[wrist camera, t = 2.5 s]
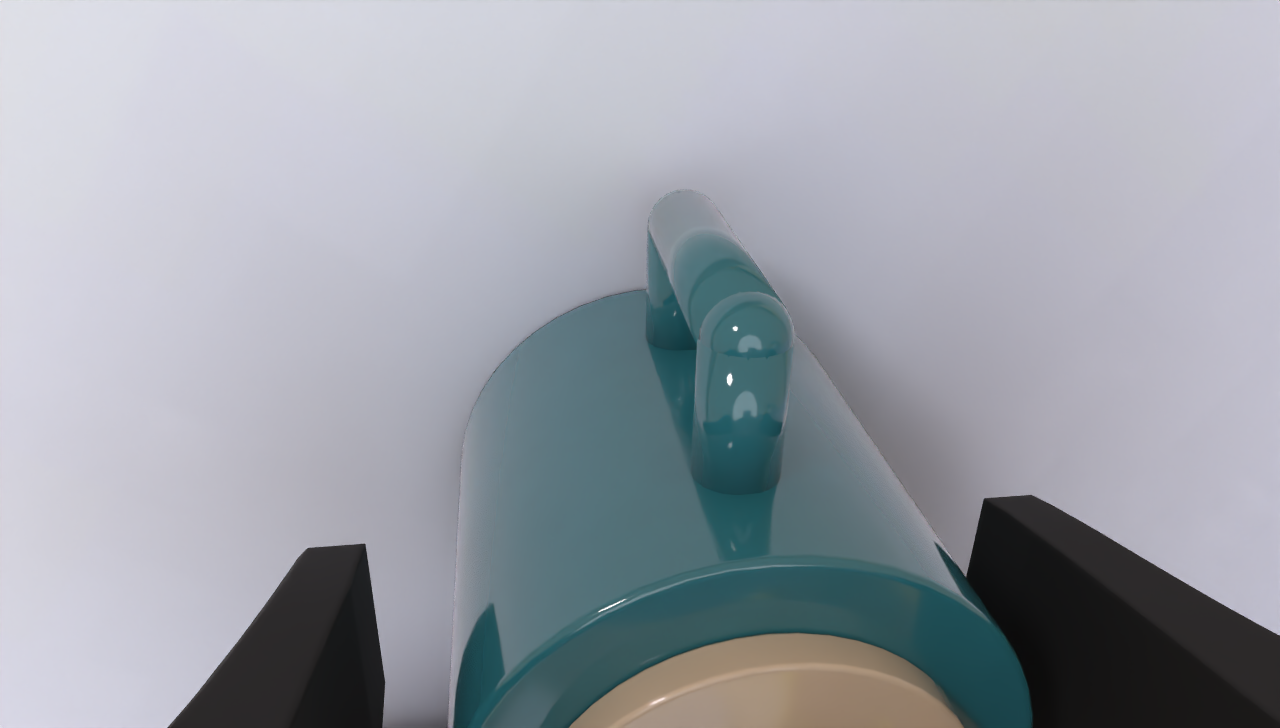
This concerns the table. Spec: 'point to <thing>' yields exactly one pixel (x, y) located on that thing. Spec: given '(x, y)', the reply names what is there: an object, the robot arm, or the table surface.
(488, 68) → the table surface
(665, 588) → the cup
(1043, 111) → the table surface
